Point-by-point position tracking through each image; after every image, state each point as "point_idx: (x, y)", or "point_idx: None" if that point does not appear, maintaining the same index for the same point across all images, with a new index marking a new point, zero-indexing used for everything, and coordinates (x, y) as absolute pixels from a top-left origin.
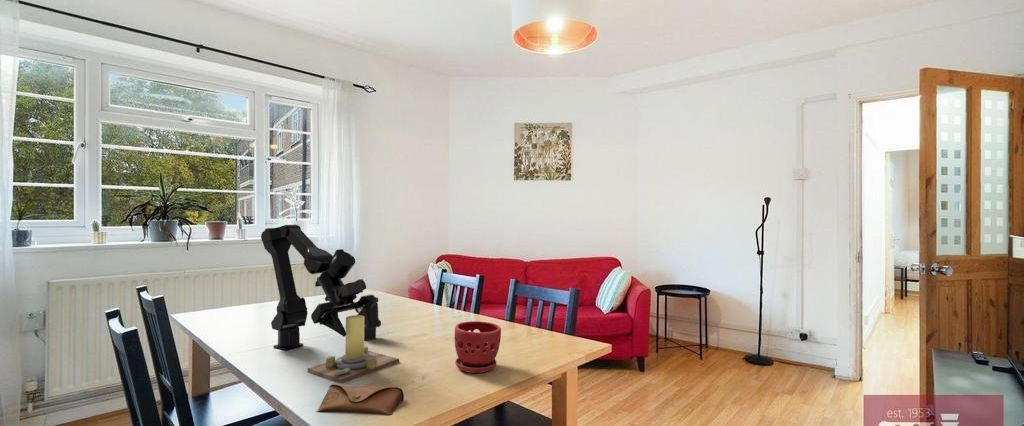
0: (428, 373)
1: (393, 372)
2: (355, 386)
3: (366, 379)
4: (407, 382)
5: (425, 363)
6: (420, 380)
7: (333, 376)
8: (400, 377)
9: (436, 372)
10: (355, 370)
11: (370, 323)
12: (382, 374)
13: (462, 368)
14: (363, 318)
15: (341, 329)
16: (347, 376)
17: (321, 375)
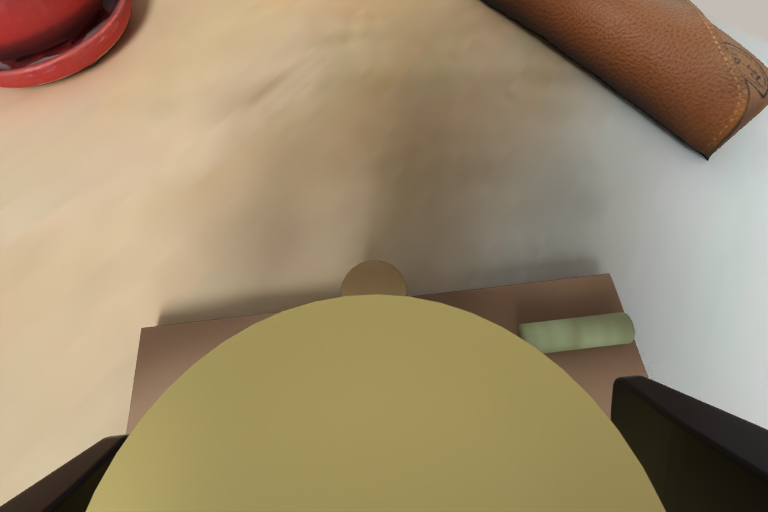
0: (214, 107)
1: (302, 220)
2: (649, 12)
3: (461, 233)
4: (349, 89)
5: (99, 211)
6: (298, 74)
7: (630, 344)
8: (328, 147)
9: (184, 95)
10: None
11: (60, 481)
12: (359, 235)
13: (129, 10)
14: (253, 330)
15: (750, 432)
16: (557, 281)
17: None
